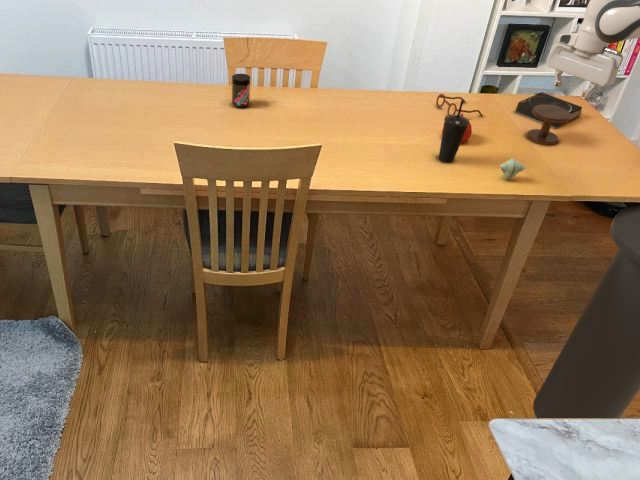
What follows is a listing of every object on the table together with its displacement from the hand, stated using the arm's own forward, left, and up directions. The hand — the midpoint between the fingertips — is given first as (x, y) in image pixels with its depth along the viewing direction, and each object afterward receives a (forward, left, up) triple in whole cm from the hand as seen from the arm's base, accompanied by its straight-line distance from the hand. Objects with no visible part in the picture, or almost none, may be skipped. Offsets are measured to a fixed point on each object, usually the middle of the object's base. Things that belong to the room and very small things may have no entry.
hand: (570, 91), depth 171 cm
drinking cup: (+18, +23, -26) cm, 39 cm away
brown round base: (+15, -19, -26) cm, 35 cm away
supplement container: (+83, +65, -26) cm, 109 cm away
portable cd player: (+28, -37, -26) cm, 53 cm away
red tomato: (+28, +10, -26) cm, 40 cm away
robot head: (0, +14, -26) cm, 30 cm away
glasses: (+45, -8, -26) cm, 53 cm away
